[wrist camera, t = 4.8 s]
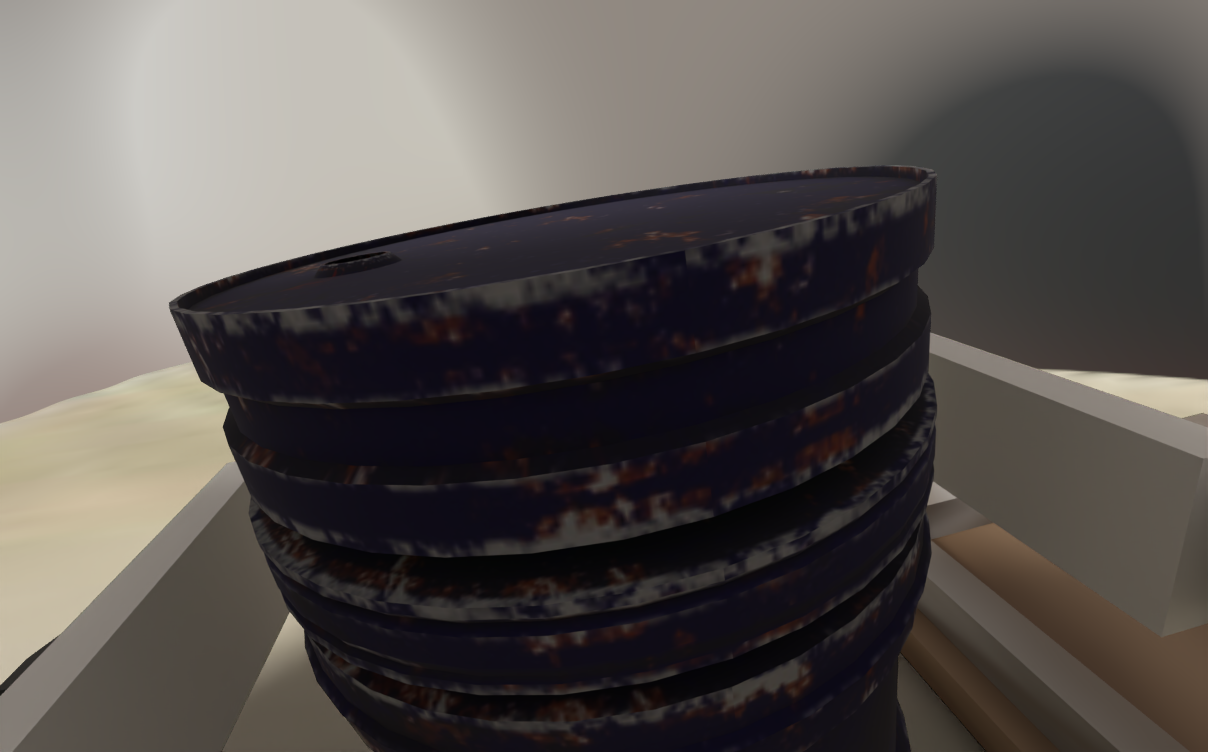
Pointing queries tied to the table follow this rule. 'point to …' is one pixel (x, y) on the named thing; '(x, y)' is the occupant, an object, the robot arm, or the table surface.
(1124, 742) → the cradle plate
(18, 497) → the table surface
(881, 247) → the rusty blue barrel
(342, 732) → the table surface
